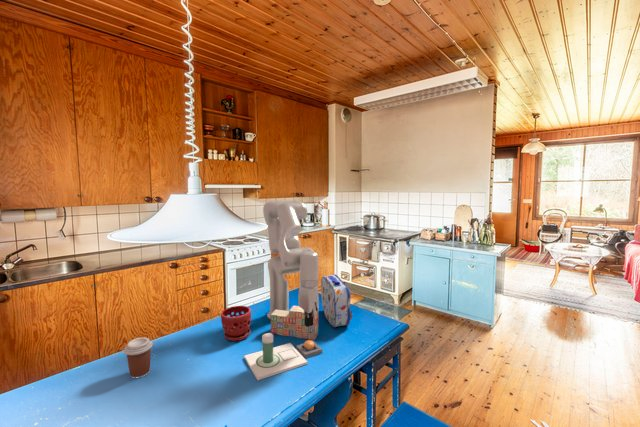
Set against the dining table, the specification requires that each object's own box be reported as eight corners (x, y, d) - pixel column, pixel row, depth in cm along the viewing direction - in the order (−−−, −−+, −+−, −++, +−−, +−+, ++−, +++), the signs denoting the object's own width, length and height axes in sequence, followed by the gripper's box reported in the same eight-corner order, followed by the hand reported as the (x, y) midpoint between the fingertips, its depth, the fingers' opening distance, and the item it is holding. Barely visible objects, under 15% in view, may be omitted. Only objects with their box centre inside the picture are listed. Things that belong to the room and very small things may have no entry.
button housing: (296, 348, 131) (296, 345, 131) (313, 343, 135) (313, 340, 135) (305, 358, 124) (305, 354, 124) (322, 352, 128) (322, 349, 128)
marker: (261, 359, 121) (260, 334, 120) (271, 356, 123) (270, 332, 122) (264, 364, 117) (264, 339, 116) (275, 361, 120) (274, 337, 118)
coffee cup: (123, 383, 108) (121, 351, 106) (127, 369, 116) (125, 338, 115) (153, 377, 112) (151, 345, 110) (154, 363, 120) (153, 333, 119)
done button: (302, 346, 130) (302, 341, 130) (311, 343, 132) (311, 339, 132) (307, 350, 126) (307, 346, 126) (315, 348, 128) (315, 343, 128)
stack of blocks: (270, 333, 144) (270, 308, 142) (275, 327, 150) (275, 303, 148) (314, 340, 138) (314, 313, 137) (318, 333, 144) (318, 308, 143)
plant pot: (245, 326, 150) (245, 302, 149) (255, 338, 139) (255, 312, 138) (218, 333, 143) (217, 308, 142) (226, 346, 132) (225, 319, 131)
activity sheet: (244, 357, 124) (244, 355, 124) (290, 345, 134) (290, 342, 134) (257, 380, 110) (257, 377, 110) (307, 364, 120) (307, 361, 120)
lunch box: (354, 330, 147) (355, 285, 145) (334, 333, 144) (334, 287, 142) (336, 307, 173) (337, 269, 171) (318, 309, 171) (318, 270, 168)
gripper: (292, 278, 131) (293, 320, 133) (309, 289, 118) (309, 335, 120) (308, 275, 134) (308, 316, 136) (326, 286, 121) (325, 330, 123)
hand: (308, 325), depth 128 cm, fingers closed
